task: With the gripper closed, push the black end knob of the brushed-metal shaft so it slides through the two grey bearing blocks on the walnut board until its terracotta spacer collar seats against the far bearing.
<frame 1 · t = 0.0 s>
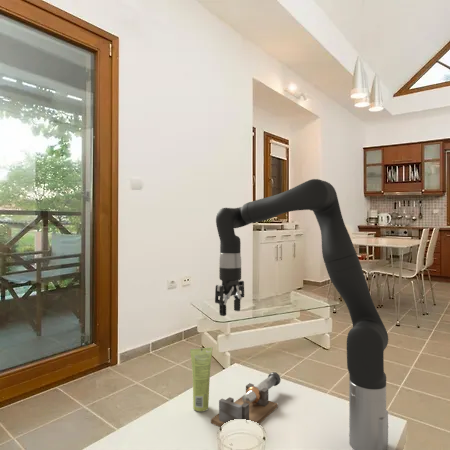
hand: (230, 313, 121), 29 cm above the table, fingers open, 8 cm apart
bearing board: (245, 414, 111), on the table
shaft: (261, 388, 119), point 4 cm above the table, slide at 0.0 cm
tube: (201, 408, 115), on the table
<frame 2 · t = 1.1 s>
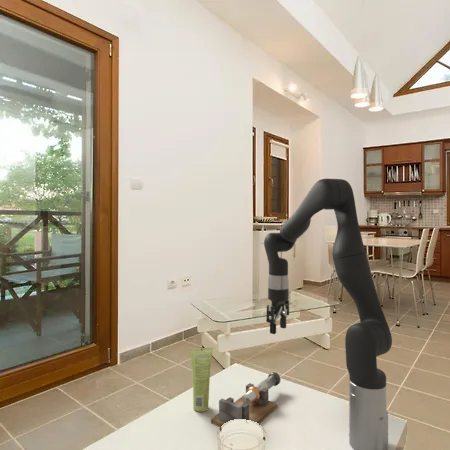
hand: (278, 330, 130), 21 cm above the table, fingers open, 8 cm apart
nothing on the table moved.
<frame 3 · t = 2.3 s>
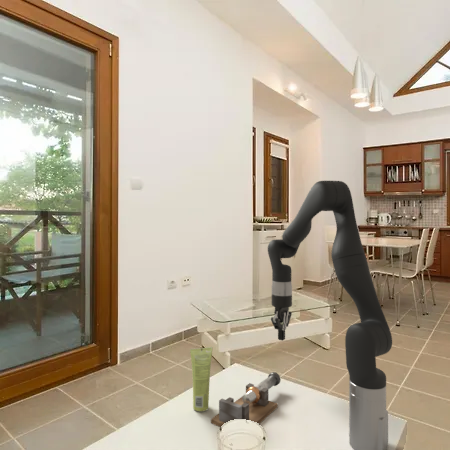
hand: (281, 339, 131), 17 cm above the table, fingers closed
nothing on the table moved.
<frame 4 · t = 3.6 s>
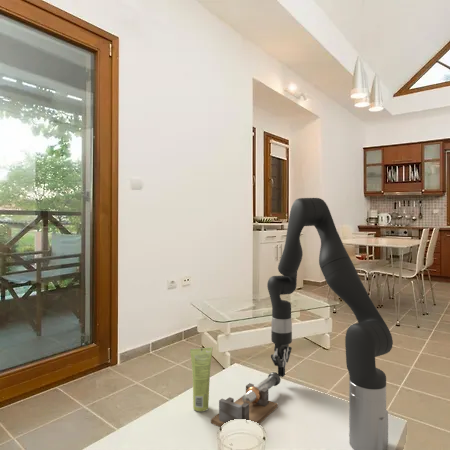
hand: (281, 375, 131), 4 cm above the table, fingers closed
nothing on the table moved.
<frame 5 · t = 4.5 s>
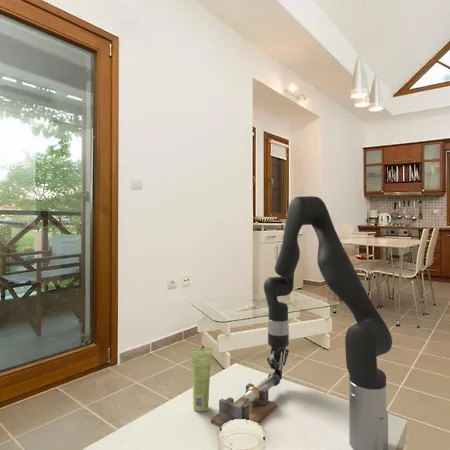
hand: (278, 379, 128), 3 cm above the table, fingers closed
shaft: (261, 388, 119), point 5 cm above the table, slide at 0.2 cm, touching gripper
everything else where it was.
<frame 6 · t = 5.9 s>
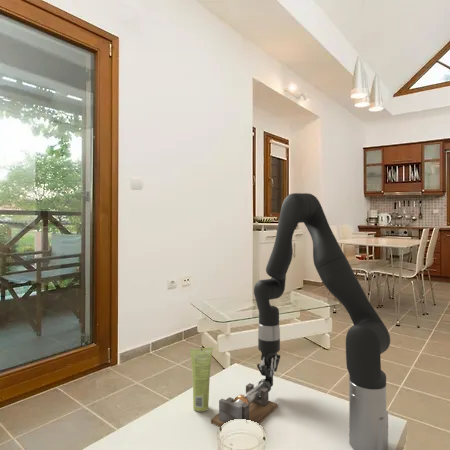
hand: (269, 386, 123), 3 cm above the table, fingers closed
shaft: (250, 396, 113), point 4 cm above the table, slide at 7.1 cm, touching gripper
everything else where it was.
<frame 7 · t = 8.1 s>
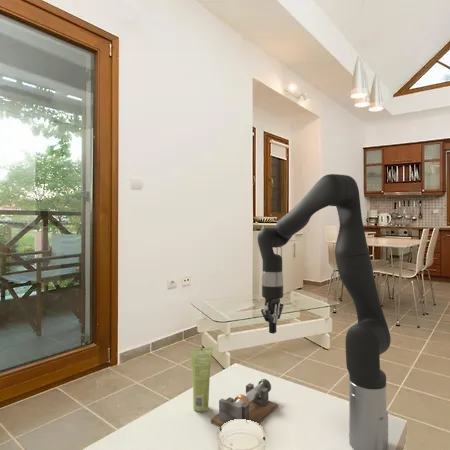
hand: (272, 332, 125), 21 cm above the table, fingers closed
shaft: (250, 396, 113), point 4 cm above the table, slide at 7.0 cm
everything else where it was.
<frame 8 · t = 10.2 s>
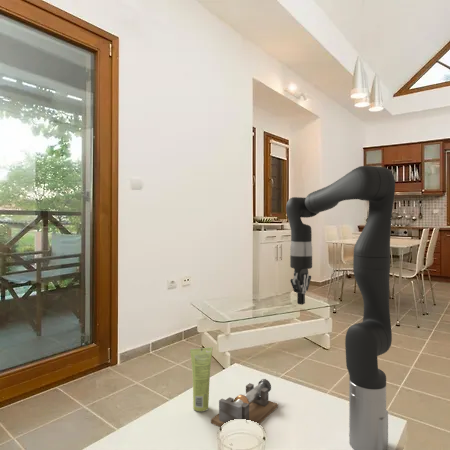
hand: (301, 303, 123), 32 cm above the table, fingers closed
nothing on the table moved.
at the end: shaft slide at 7.0 cm; shaft touching nothing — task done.
